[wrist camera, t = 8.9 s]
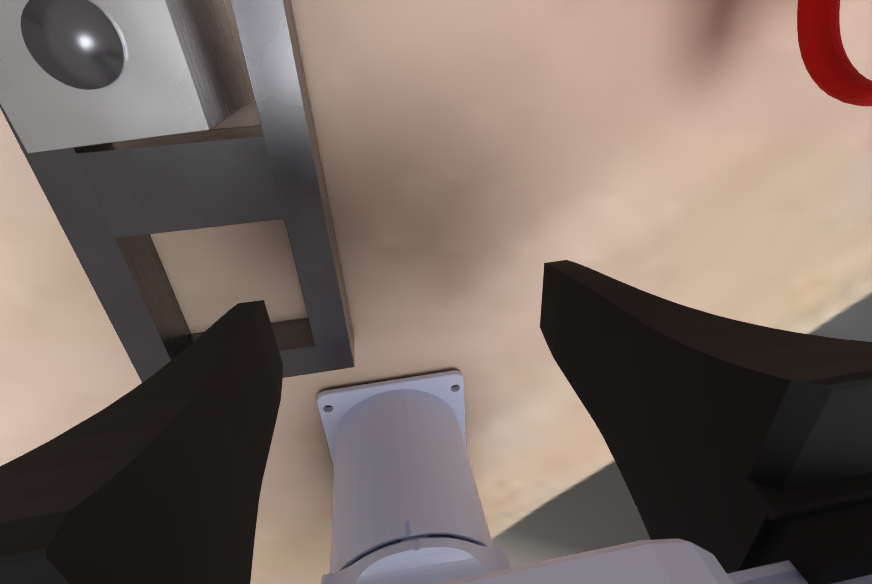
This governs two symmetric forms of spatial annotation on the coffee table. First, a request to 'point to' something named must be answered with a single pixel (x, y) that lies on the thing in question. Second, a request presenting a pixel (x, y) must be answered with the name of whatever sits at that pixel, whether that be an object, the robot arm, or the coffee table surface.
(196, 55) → the block
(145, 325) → the dark grey double frame
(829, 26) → the ceramic cup
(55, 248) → the coffee table surface
